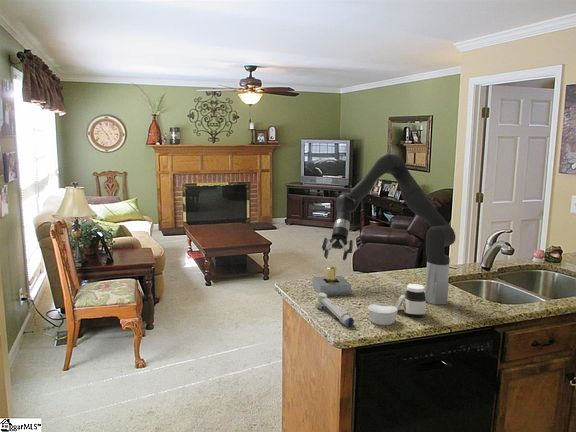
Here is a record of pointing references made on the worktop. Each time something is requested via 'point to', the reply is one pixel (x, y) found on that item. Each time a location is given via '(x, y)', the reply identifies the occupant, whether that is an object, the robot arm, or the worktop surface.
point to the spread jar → (413, 300)
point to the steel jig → (332, 286)
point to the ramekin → (382, 313)
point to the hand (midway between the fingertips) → (334, 258)
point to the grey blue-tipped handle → (333, 309)
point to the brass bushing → (331, 275)
